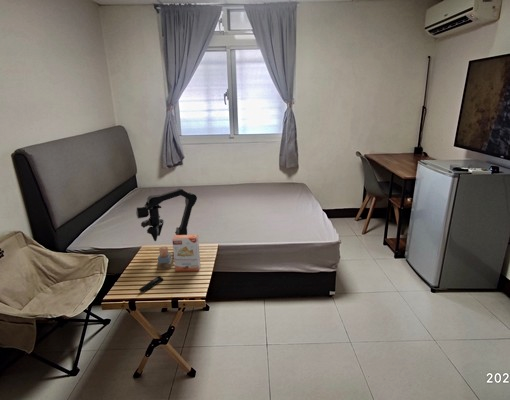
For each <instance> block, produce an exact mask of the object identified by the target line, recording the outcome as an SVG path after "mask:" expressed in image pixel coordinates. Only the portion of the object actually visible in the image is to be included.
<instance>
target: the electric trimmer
mask: <svg viewBox="0 0 510 400" xmlns="http://www.w3.org/2000/svg"><path fill="white" fill-rule="evenodd" d="M162 281H164V278H163V277H162V276H161V275H158V276H156V277H155V278H153V279H151V280H150V281H148V283H146V284H144V285H143V286H141V287H140V288H139V289H138V290H139V292H141V293H144V292H146V291H148V290H150V289H151V288H153V286H155V285H157V284H158V283H160V282H162Z"/></svg>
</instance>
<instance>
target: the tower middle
mask: <svg viewBox="0 0 510 400" xmlns="http://www.w3.org/2000/svg"><path fill="white" fill-rule="evenodd" d="M168 255H169V256H168V257H164V258H162V257H160V254H158V257H157V263H158V264H161V263H170V260H171V258H172V255H171V252H170V253H169V252H168Z"/></svg>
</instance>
